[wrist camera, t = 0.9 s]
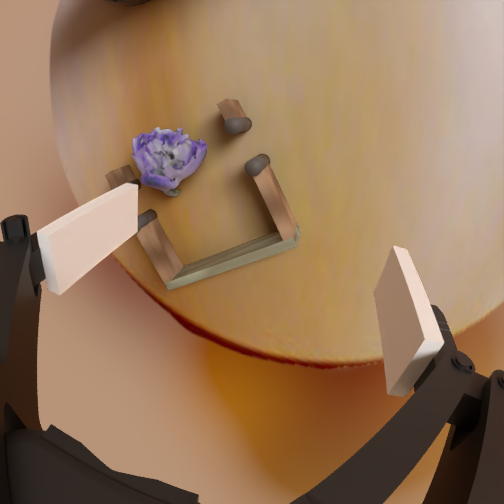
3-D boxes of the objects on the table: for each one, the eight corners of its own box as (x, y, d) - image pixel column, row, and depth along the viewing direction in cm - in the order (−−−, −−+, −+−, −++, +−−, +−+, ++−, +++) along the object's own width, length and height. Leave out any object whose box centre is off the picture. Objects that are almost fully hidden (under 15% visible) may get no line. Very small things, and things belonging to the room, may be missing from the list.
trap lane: (122, 169, 41) (100, 177, 37) (239, 99, 34) (226, 97, 29) (180, 276, 46) (165, 293, 42) (303, 231, 39) (299, 248, 35)
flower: (187, 230, 35) (151, 159, 28) (144, 213, 40) (109, 152, 32) (235, 181, 39) (212, 112, 32) (189, 170, 44) (164, 111, 36)
